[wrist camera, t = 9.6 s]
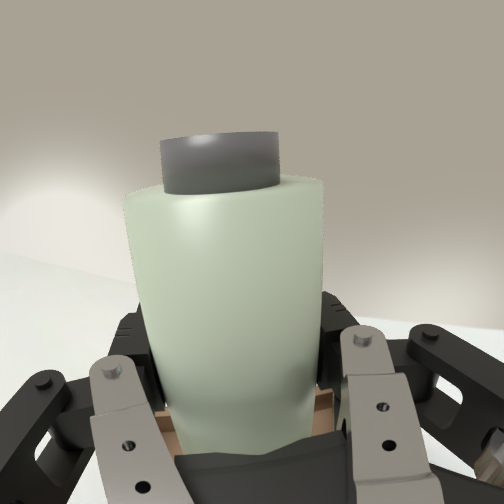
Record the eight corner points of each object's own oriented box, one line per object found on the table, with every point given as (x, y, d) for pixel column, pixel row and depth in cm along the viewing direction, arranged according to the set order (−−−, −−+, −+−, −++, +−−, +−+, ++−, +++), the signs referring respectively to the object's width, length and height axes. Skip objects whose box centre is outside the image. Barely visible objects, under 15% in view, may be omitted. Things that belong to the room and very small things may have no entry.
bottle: (290, 429, 14) (289, 135, 10) (318, 507, 10) (359, 129, 5) (193, 442, 14) (137, 146, 9) (199, 525, 9) (87, 148, 5)
